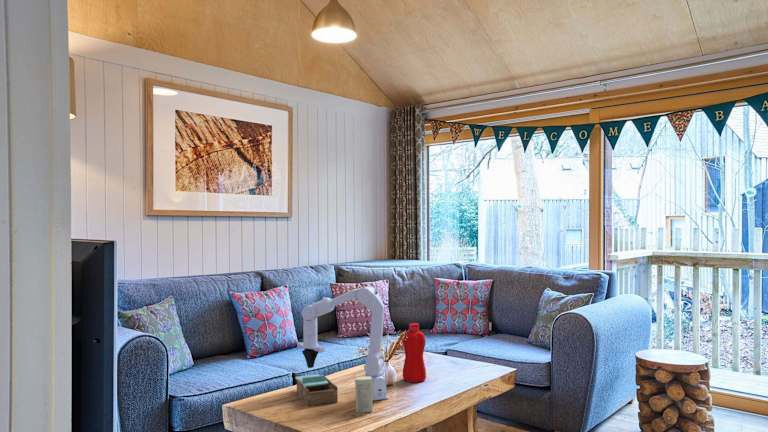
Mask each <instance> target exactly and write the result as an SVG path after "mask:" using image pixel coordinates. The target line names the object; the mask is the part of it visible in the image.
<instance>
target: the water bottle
mask: <svg viewBox="0 0 768 432" xmlns="http://www.w3.org/2000/svg"><path fill="white" fill-rule="evenodd" d="M404 334H405V337H404V338H405V339H407V340H406V341H405V340H404V339H403V338H402V343H401V347H403V350H404V353H402V355H405V356H404V357H405V358H404V363H403V368H402V378H403V380H405V381H407V382H408V383H419V382H423V381H425V380H426V379H427V370H426V369H427V368H426V364H425V361H424V351H425V346H426V341H427V340H426V335H425V334H424V332H422V331H420V323H417V322H411V323H409V324H408V330H407V331H405V332H404ZM406 335H407V337H408V338H406Z"/></svg>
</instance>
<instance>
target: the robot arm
mask: <svg viewBox="0 0 768 432" xmlns="http://www.w3.org/2000/svg"><path fill="white" fill-rule="evenodd" d="M349 301H353V302H359V303H360V304H361V305H363V306H365V307H367V309H369V310H370V311H371V320H370V321H371V322H370V335H369V344H368V345H369V348H368V349H369V350H368V353H367V357H366V362H365V364H364V366H363V368H364V373H365V375H364V377H366V376H371V377H372V402H373V401H381V400H388V399H389V396H388V395H387V393H388V391H387V381H386V380H385V378H384V370H383V368H384V366H385V360H384V358H383V351H382V346H383V334H384V321H385V304H384V302H383V300H382V298H381V296H380V292H379V291H378V290H377V289H376V288H375V287H374V286H372V285H366V286H363V287H358V288H355V289H352V290H349V291H347V292H345V293H342V294H340V295H338V296H336V297H334V298H330V297H325V296H324V297H322V298H321V300H319V301H316V302H314V301H313V302H311V304H308V305H306V306H305V307H303V308H302V310H301V317H302V319H303V327H302V329H303V334H302V335H303V341H302V342H297V345H296V347H297V348H298V349H300V348H301V349H304V350H302V351H301V352H302V354H303V356H304V358H305V362H306V365H307V368H308V369H311V368H312V369H313V368H314V367H315V363H316V359H317V357H318V354H319V353H320V354H321V353H324V352H325V347H324V346H322V345H320V343H319V342H318V317H321V316H324V315H326V314H328V313H330V312H332V311H334V309H335V307H336V306H339V305H341V304H344V303H346V302H347V303H348V302H349Z"/></svg>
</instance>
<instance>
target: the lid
mask: <svg viewBox="0 0 768 432" xmlns="http://www.w3.org/2000/svg"><path fill="white" fill-rule="evenodd" d="M325 377H326V375H324V374H320V373H316V374H306V375H299V376H298V375H297V376H295V380H296V381H297V380H299V381H300V382H301V383H302V384H303V385H304V386H305V387H311V386H319V385H326V384H329V382H328V381H326V380H325Z"/></svg>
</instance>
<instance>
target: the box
mask: <svg viewBox="0 0 768 432" xmlns="http://www.w3.org/2000/svg"><path fill="white" fill-rule="evenodd" d="M325 380H326V381H328V382H329V384H326V385H319V386H311V387H305V386H304V385H303V384H302V383H301V382H300V381H299V380H296V396H297V397H298V398H299V397H300V398H301V399H302V400H303V401H302V400H301V399H300V398H299V399H300V400H301V401H302V402H303V403H304V404H305V405H306V406H307V407H312V405H315V406H321V405H327V404H334V403H335V404H336V403H338V386H337V385H336V384H335V383H333V382H332V380H330V379H329V378H328V377H326V376H325Z"/></svg>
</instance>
